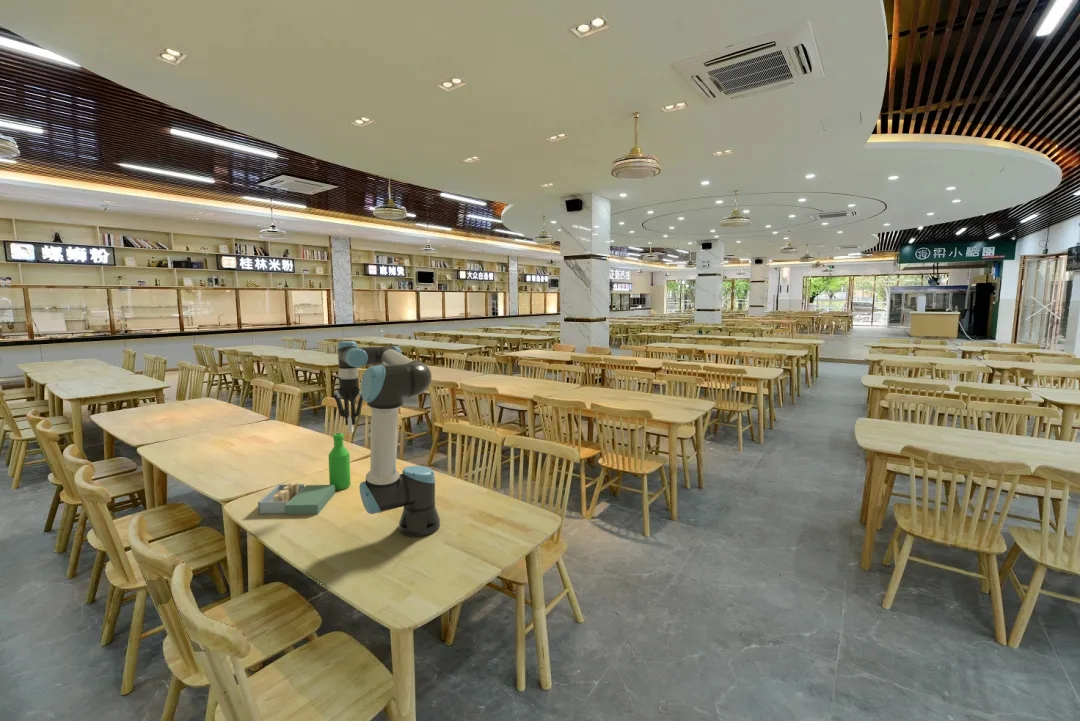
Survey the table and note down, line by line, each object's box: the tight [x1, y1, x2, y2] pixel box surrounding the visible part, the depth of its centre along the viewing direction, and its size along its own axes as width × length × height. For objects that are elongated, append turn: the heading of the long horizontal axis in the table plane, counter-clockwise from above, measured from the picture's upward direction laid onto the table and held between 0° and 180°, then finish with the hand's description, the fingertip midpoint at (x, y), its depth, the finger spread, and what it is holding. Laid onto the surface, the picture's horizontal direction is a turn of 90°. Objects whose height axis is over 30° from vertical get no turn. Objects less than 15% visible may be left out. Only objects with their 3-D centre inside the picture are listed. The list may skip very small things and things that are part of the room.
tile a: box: [273, 490, 289, 504], centre depth 189 cm, size 6×6×4 cm
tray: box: [257, 483, 305, 515], centre depth 192 cm, size 18×10×5 cm, turn 6°
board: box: [286, 484, 336, 516], centre depth 194 cm, size 20×12×4 cm, turn 6°
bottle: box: [328, 432, 351, 491], centre depth 210 cm, size 9×9×25 cm
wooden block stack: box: [283, 482, 299, 501], centre depth 197 cm, size 6×6×4 cm
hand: (350, 432), depth 197 cm, fingers closed
